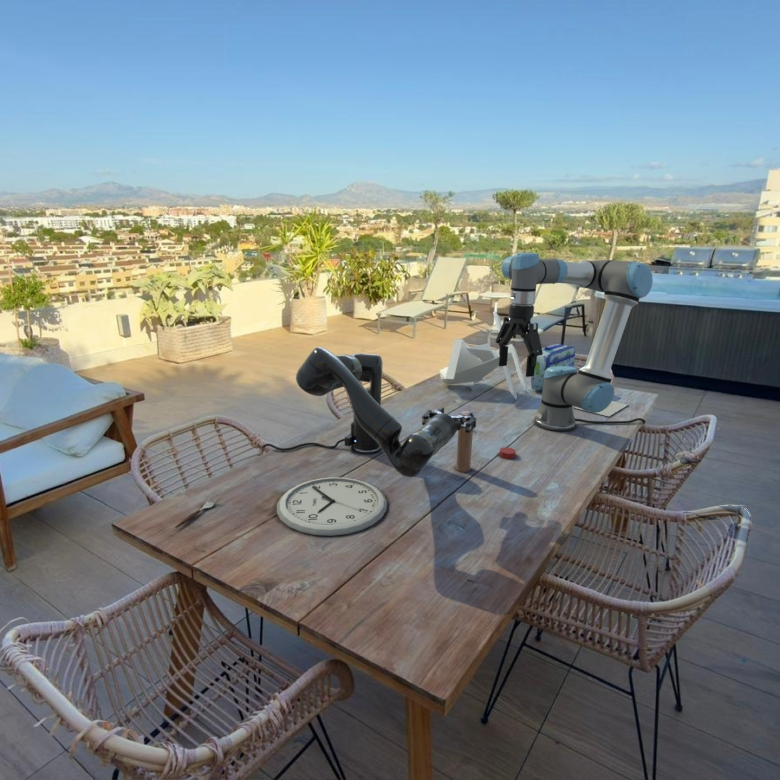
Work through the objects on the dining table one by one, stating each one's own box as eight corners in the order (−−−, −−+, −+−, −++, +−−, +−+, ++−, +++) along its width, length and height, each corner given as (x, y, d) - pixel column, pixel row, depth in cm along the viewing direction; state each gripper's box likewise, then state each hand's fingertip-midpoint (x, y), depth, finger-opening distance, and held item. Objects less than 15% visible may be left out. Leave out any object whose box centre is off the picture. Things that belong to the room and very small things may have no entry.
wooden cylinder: (453, 467, 166) (456, 412, 161) (463, 464, 169) (467, 409, 163) (462, 473, 163) (466, 416, 157) (473, 469, 165) (477, 414, 160)
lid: (515, 459, 173) (515, 454, 173) (499, 457, 174) (499, 452, 174) (515, 453, 178) (515, 448, 178) (499, 451, 179) (500, 446, 179)
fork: (171, 528, 130) (170, 521, 130) (212, 499, 145) (211, 492, 144) (179, 530, 129) (178, 523, 129) (220, 500, 144) (219, 494, 143)
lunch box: (547, 396, 238) (552, 351, 232) (526, 391, 246) (531, 347, 239) (574, 385, 256) (579, 343, 250) (554, 380, 263) (559, 340, 257)
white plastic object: (461, 429, 252) (437, 405, 227) (444, 352, 274) (420, 323, 250) (535, 404, 240) (518, 377, 215) (510, 326, 262) (492, 293, 237)
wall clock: (392, 527, 129) (268, 531, 127) (391, 533, 130) (269, 537, 127) (383, 473, 158) (282, 475, 155) (383, 478, 158) (282, 480, 156)
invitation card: (608, 416, 214) (573, 407, 224) (608, 416, 214) (573, 408, 224) (628, 404, 229) (594, 396, 238) (628, 405, 229) (594, 397, 238)
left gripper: (412, 440, 140) (433, 421, 154) (463, 450, 135) (480, 429, 149) (412, 414, 138) (434, 396, 152) (464, 423, 132) (482, 404, 146)
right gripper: (488, 299, 170) (483, 362, 177) (539, 311, 149) (532, 382, 155) (506, 298, 173) (501, 360, 180) (559, 309, 152) (551, 379, 158)
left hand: (457, 412), depth 150 cm, fingers open, 8 cm apart
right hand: (515, 370), depth 168 cm, fingers open, 13 cm apart
